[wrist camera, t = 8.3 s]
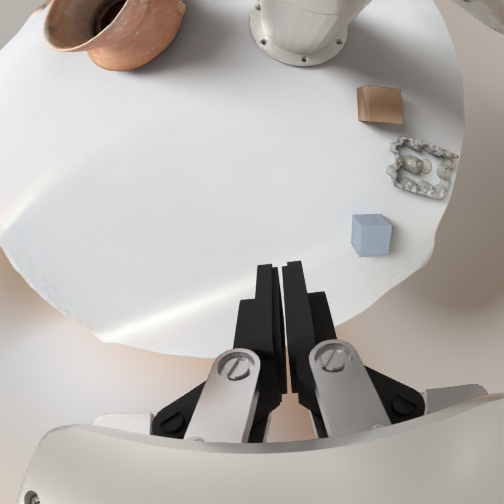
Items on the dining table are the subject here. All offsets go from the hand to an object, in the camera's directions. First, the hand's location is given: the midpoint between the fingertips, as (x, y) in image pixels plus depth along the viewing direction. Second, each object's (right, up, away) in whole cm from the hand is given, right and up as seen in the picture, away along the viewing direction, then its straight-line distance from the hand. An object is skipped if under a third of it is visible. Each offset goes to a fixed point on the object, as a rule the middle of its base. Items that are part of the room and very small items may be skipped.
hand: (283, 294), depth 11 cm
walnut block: (+15, +21, +19) cm, 32 cm away
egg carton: (+23, +14, +22) cm, 35 cm away
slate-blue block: (+16, +5, +27) cm, 32 cm away
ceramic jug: (-17, +33, +15) cm, 40 cm away
